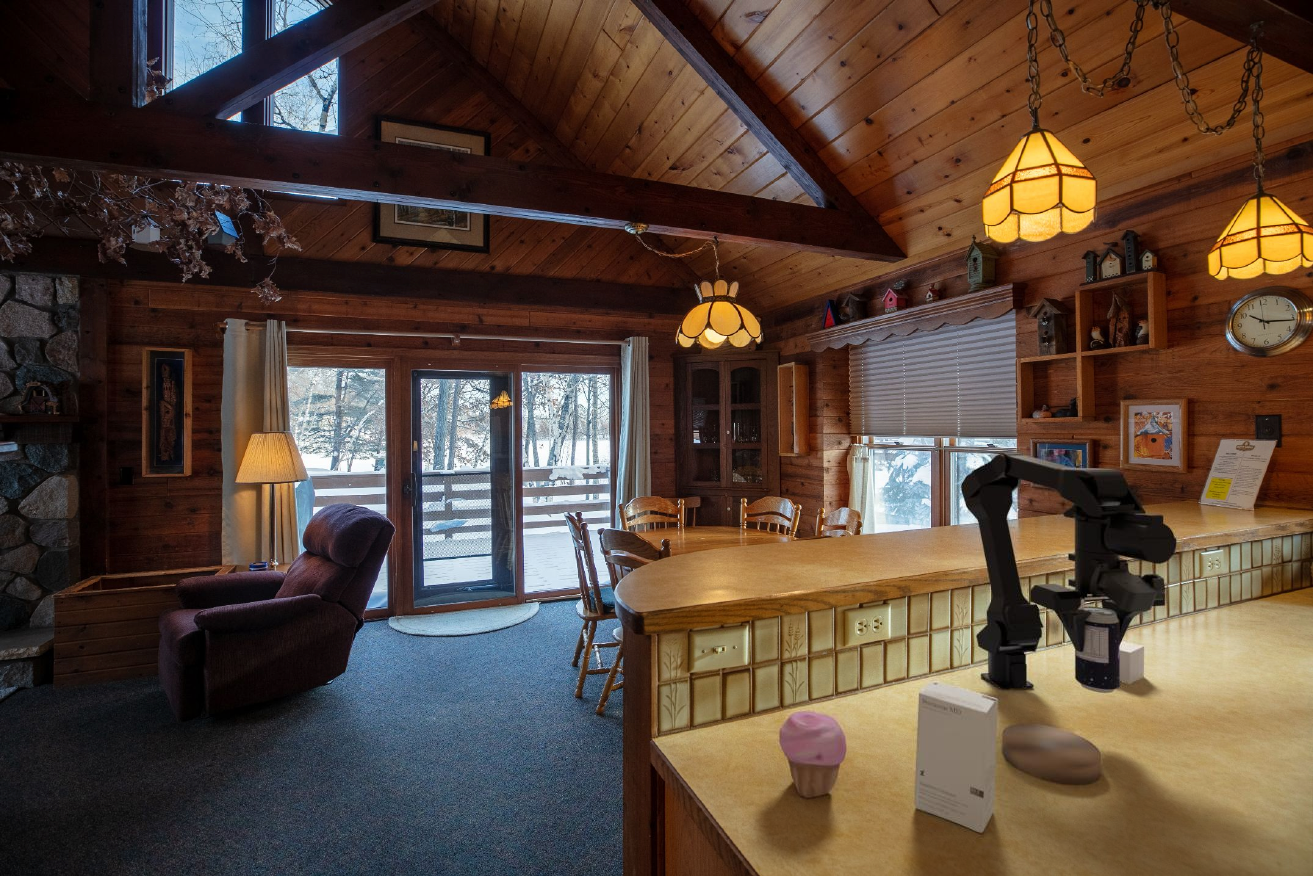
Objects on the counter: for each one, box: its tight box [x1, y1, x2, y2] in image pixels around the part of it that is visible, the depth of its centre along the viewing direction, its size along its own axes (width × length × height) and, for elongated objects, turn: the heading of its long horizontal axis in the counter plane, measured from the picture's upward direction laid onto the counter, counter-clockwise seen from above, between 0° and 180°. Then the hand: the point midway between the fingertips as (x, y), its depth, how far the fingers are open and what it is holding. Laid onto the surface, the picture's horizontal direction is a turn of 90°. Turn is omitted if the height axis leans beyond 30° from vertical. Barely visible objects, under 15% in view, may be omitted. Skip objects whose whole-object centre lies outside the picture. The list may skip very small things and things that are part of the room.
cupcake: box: [778, 710, 847, 799], centre depth 84 cm, size 9×9×10 cm
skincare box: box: [913, 680, 999, 834], centre depth 79 cm, size 8×6×15 cm
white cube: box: [1120, 640, 1145, 685], centre depth 120 cm, size 6×6×6 cm
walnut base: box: [1001, 723, 1102, 786], centre depth 90 cm, size 12×12×2 cm
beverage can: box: [1074, 605, 1121, 694], centre depth 98 cm, size 6×6×12 cm
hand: (1096, 650), depth 98 cm, fingers closed on beverage can, 6 cm apart
